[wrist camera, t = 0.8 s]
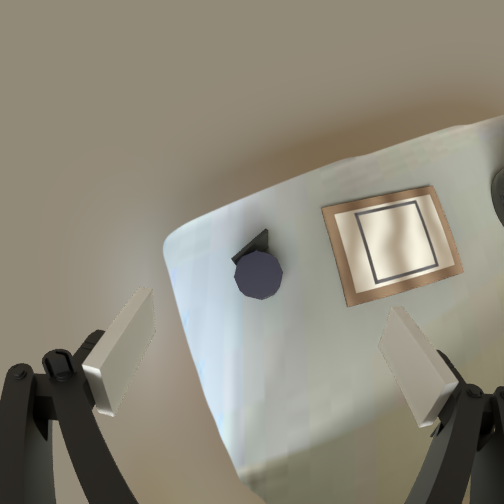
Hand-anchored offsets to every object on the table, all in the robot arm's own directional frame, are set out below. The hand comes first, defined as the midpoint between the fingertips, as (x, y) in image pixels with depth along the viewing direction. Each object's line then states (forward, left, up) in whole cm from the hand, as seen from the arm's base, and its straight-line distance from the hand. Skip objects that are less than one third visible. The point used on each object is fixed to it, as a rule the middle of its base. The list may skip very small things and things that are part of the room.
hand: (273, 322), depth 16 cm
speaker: (+7, -5, -27) cm, 28 cm away
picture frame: (-7, -20, -27) cm, 34 cm away
